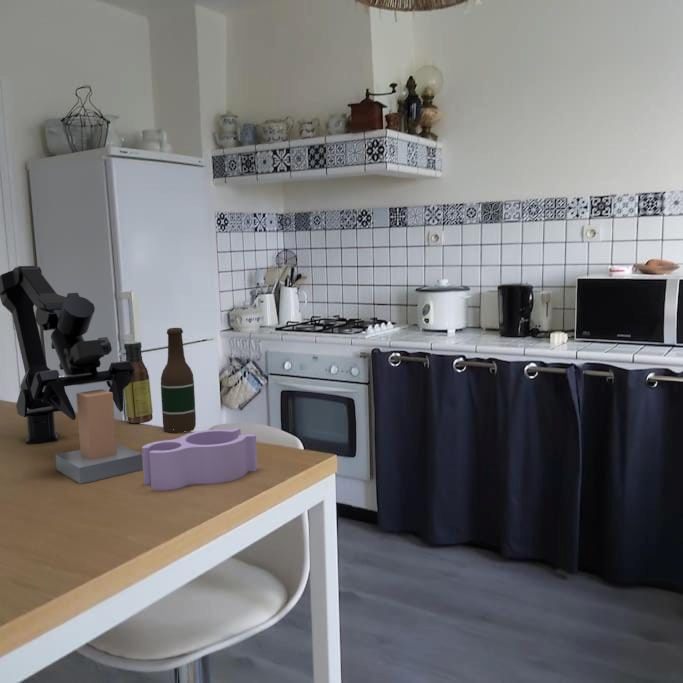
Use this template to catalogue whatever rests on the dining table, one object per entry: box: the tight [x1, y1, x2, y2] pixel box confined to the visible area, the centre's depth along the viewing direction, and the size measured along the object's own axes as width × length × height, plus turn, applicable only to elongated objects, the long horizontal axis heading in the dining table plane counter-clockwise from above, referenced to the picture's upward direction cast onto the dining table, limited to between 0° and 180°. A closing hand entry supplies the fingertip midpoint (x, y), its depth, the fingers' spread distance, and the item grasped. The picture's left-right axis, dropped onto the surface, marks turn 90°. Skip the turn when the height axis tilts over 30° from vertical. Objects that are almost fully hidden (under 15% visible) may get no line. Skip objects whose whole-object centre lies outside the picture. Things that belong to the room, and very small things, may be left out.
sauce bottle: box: [123, 341, 154, 424], centre depth 171 cm, size 6×6×20 cm
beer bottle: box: [160, 327, 197, 434], centre depth 161 cm, size 8×8×24 cm
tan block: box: [75, 388, 117, 460], centre depth 132 cm, size 5×5×12 cm
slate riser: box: [55, 442, 143, 485], centre depth 132 cm, size 12×12×3 cm
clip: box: [141, 427, 258, 492], centre depth 127 cm, size 20×12×7 cm, turn 125°
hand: (98, 414), depth 130 cm, fingers open, 9 cm apart
